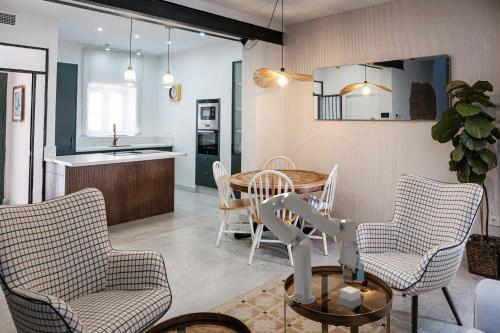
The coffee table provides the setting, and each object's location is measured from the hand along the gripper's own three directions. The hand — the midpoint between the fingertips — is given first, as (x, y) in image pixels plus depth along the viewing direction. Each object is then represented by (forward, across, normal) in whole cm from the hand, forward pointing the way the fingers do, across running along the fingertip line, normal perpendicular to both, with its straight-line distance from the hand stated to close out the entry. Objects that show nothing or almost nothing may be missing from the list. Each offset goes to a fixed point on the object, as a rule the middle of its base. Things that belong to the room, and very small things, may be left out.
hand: (350, 277), depth 192 cm
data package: (+14, +18, -26) cm, 35 cm away
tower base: (+14, +1, 0) cm, 14 cm away
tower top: (+10, 0, 0) cm, 10 cm away
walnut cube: (+1, 0, 0) cm, 1 cm away
